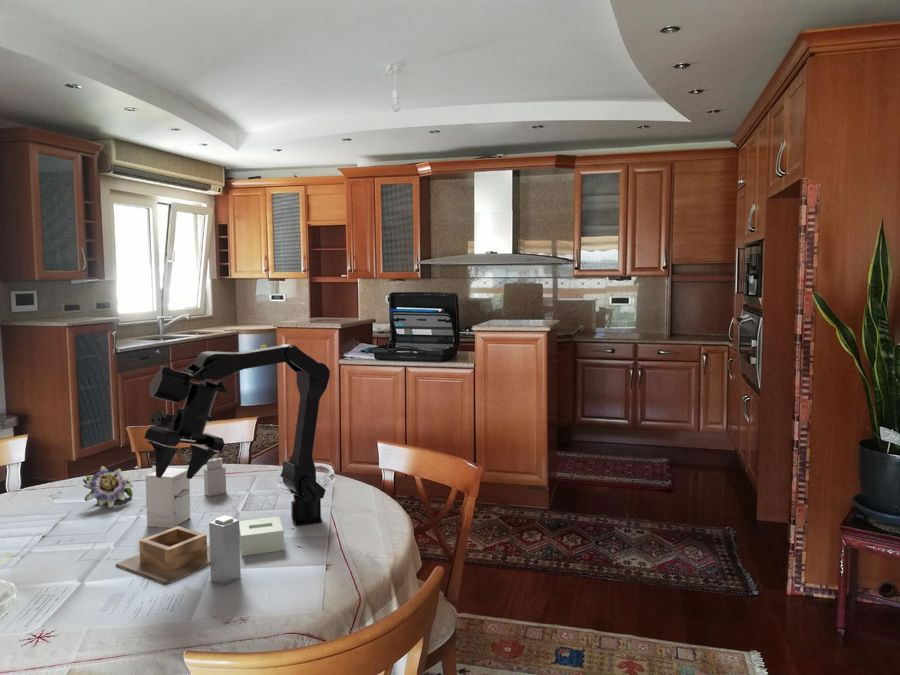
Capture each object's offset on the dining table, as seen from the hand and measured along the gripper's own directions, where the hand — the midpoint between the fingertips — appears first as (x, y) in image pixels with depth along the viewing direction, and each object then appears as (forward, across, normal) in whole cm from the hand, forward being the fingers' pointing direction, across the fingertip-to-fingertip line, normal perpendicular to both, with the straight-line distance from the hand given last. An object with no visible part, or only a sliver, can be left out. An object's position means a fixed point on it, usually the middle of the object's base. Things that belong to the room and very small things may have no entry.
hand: (173, 477), depth 142 cm
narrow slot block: (+10, -15, +16) cm, 25 cm away
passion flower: (+17, -23, -38) cm, 48 cm away
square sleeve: (+16, -2, +5) cm, 17 cm away
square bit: (+15, +1, +21) cm, 26 cm away
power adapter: (+9, -39, -18) cm, 44 cm away
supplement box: (+14, -19, -13) cm, 27 cm away
